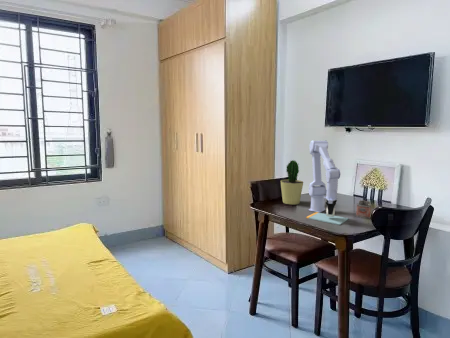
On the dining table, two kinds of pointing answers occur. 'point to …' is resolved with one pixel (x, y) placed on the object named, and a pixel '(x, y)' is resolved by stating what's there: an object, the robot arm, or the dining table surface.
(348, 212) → the dining table surface
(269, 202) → the dining table surface
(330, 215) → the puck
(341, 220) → the mat
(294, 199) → the potted cactus
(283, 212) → the dining table surface
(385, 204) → the dining table surface
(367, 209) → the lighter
